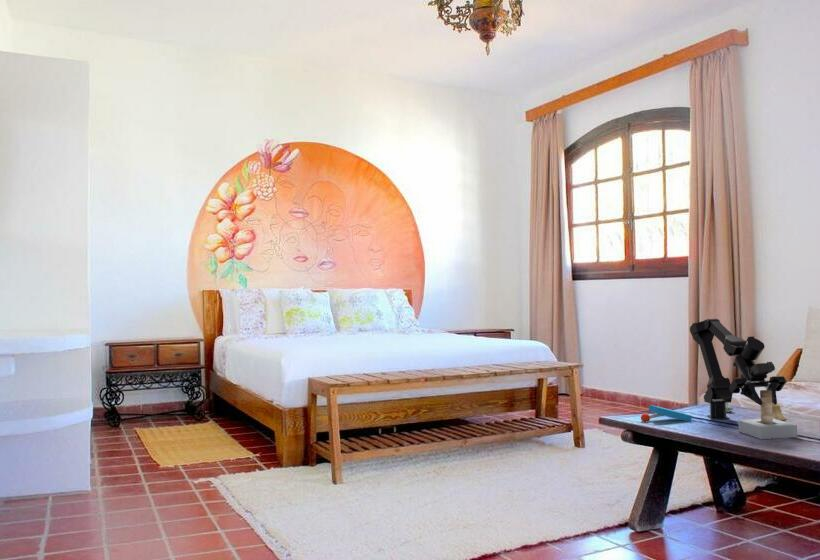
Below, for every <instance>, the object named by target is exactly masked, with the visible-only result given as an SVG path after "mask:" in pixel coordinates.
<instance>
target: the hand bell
mask: <svg viewBox="0 0 820 560" xmlns="http://www.w3.org/2000/svg"><path fill="white" fill-rule="evenodd" d="M771 378H772V376H770V377H769V380H768V381H770V379H771ZM772 414H773V418H774V419H777V420H781V421H786V420H787V418H786V416H785V415H784V413H783V412H782V409H781V405H780V404H779V403H777V404H776V405H775V404H774V403H773V402H772Z"/></svg>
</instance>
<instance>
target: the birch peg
mask: <svg viewBox="0 0 820 560" xmlns="http://www.w3.org/2000/svg"><path fill="white" fill-rule="evenodd" d="M759 398H760V399H761V402H762V405H759V407H760V419H761V423H762V424H773V414H772V391H770V390H766V389H760V390H759Z"/></svg>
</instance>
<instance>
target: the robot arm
mask: <svg viewBox="0 0 820 560" xmlns="http://www.w3.org/2000/svg"><path fill="white" fill-rule="evenodd" d="M689 332H690V335H691V336H692V340H693V341H694V342H695V343H697V344H698V346H699V347H700V351H701V352H700V353H701V355H702V358H703V362H704V366H705V368H706V371H707V372H706V373H707V375H708V382H707V384H706V388H707V390H706V391H705V393H704V395H703V400H704V403H707V404H709V414H707V417H708V418H710V419H711V420H730V417H729V416H727V412H726V402H729V403H732V399H733V394H740V395H742V396H744V397H746V398H748V399H750V400H751V401H753V402H755V404H757V405H759V406H760V405H762V402H761V399H760V395H759V394H758V393H757V390H756V388H764V390H770V391H772V402H773V403H774V404H775V405H776V404H778V399H777V398H778V397H777V392H781V391H782V389H783V388H784V387H785V385H786V384H787V382H788V381H787V379H786V377H785V376H782V375H776V376H773V375H772V376H771V377H772V378H771V379H770V378H769V379H770V381H769V380H766V379H767V378H768V374H770V373H772V372H774V371H775V370H776V366H775V365H774V363H773V362H772V361H767V362H763V363H762V362H759V363H756V362H755V361H756V360H758V359H759V357H760V355H761V354H762V352H763V351H764V349H765V344H764V342H763V341H762V340H760V339H758V338H755V336H747V337H746V340H745V339H743V338H742V337H739V336H737V335H734V334H732V332H731V331H729V330H728V328H727V327H726V326H724V324H723V323H721V321H720V319H718V318H706V319H704V320H702V321H698V322H693V323H692V324H691V325H690V326H689ZM714 338H716V339H718V341H719V342H721V343H722V345H723V346H722V347H723V351H724V352H725V353H726V354H727V356H729V357H735V358H734V359H733V360H734V361H733V363H732V367H737V368H738V369H739V372H740V373H741V375H740V377H734V378H733V380H732V382H731V381H730V378H728V377H725V376H724V375H723V373H722V370H721V367H720V363H719V360H718V357H717V353H716V350H715V346H714V344H713V340H714ZM729 403H728V404H729Z"/></svg>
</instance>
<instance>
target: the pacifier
mask: <svg viewBox="0 0 820 560" xmlns="http://www.w3.org/2000/svg"><path fill="white" fill-rule="evenodd" d="M733 410H734V407H731V406H729V402H726V413H730V411H733Z"/></svg>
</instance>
